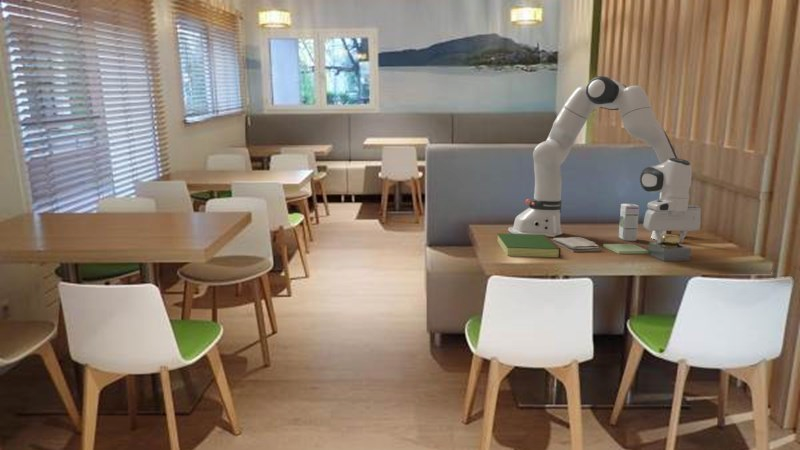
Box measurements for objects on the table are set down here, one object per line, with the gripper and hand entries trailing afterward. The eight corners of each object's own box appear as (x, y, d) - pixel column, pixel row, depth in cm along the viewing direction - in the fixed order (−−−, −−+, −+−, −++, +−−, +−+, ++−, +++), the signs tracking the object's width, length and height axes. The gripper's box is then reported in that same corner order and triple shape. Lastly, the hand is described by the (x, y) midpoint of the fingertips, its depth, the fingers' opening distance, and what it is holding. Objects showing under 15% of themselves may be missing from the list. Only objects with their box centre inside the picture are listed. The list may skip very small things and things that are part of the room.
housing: (663, 260, 208) (664, 248, 208) (647, 254, 218) (649, 242, 217) (689, 260, 210) (691, 248, 209) (673, 254, 220) (674, 242, 219)
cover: (665, 259, 211) (667, 237, 209) (656, 255, 217) (658, 234, 215) (681, 259, 212) (683, 237, 210) (671, 255, 217) (673, 234, 216)
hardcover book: (559, 258, 209) (560, 248, 209) (506, 257, 210) (507, 246, 209) (544, 243, 234) (544, 234, 233) (496, 242, 234) (497, 233, 234)
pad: (618, 253, 218) (618, 251, 217) (603, 246, 229) (603, 243, 229) (648, 253, 219) (649, 250, 219) (632, 246, 231) (632, 243, 231)
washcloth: (573, 253, 218) (574, 245, 217) (550, 243, 235) (551, 235, 234) (602, 253, 221) (603, 244, 220) (577, 242, 238) (578, 235, 237)
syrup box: (636, 241, 242) (640, 205, 239) (622, 240, 241) (625, 205, 239) (631, 238, 247) (634, 203, 244) (617, 237, 247) (620, 203, 244)
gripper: (695, 203, 215) (691, 240, 218) (643, 203, 212) (639, 240, 215) (706, 206, 209) (702, 244, 211) (652, 205, 206) (648, 244, 209)
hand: (670, 242), depth 213 cm, fingers closed on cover, 6 cm apart
